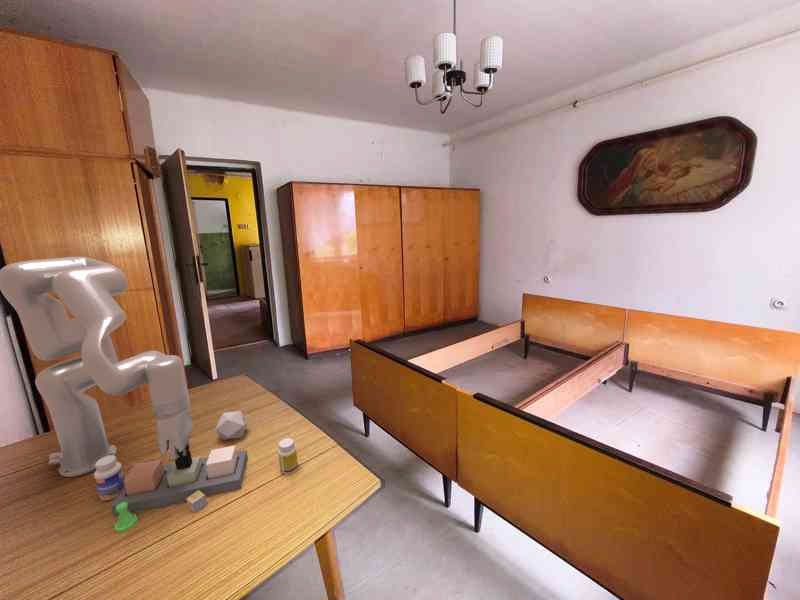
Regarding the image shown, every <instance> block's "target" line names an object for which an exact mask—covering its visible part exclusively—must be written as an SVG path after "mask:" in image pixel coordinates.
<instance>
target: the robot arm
mask: <svg viewBox="0 0 800 600" xmlns="http://www.w3.org/2000/svg"><path fill="white" fill-rule="evenodd" d="M128 286H129V280H128V278H127V276H126V274H125V273H124V272H123V271H122V270H121V269H120V268H119V267H117V266H115V265H114V264H111V263H108V262H105V261H101V260H97V259H94V258H91V257H87V256H66V257H55V258H42V259H41V258H39V259H29V260H23V261H16V262H13V263H10V264H6V265H5V266H3V267H2V268H1V269H0V292H1V293H2V295H3V297H4V298H5V299H6V300H7V302H8V303H9V304H10V305H11V306H12V307H13V309H14V310H15V311H16V313H17V315H18V317H19V320H20V323H21V325H22V327H23V330H24V333H25V336H26V338H27V341H28V343H29V347H30V348H31V351H32V353H33V354H34V356H35V357H36V358H37V359H39V360H42V361H53V360H57V359H58V360H59V359H61V358H65V357H68V356H71V355H74V354H78V353H81V355H79V356H77V357H76V356H75V357H73V358H70V359H67V360H64V361H61V362H58V363H55V364H52V365H49V366H48V367H46V368H44V369H43V370H41V371H40V372H39V373H38V374H37V375H36V376H35V377H36V378H35V380H34V383H35V386H36V389H37V391H38V393H39V394H40V396H41V397H42V399H43V400H44V403H45V404H46V406H47V409H48V411H49V414H50V416H51V420H52V423H53V427H54V430H55V434H56V437H57V440H58V443H59V444H58V445H59V447H60V450H61V452H60V451H59V452H54V453H51V454H49V456H48V465H57V464H60V466H59V468H58V474H59V475H60V476H61V477H66V478H73V477H78V476H79V477H80V476H82V475H86V474H89V473H91V472H93V471H94V472H95V471H96V470H97V469H96V466H95V464H96V462H97V461H98V460H100V459H102V458H104V457H106V456H111V455H114V456H116V457H117V454H118V449H117V447H116V445H113V444H109V442H108V439H107V434H106V430H105V425H104V422H103V419H102V414H101V411H100V408H99V403H98V401H97V400H96V399H95V398H93V397H92V396H90V395H87V394H86V393H84V392H85V391H87V390H88V389H90V388H92V387H95V386H97V387H98V388H99V389H100V390H101V391H103V393H106V394H107V395H109V396H114V397H119V396H122V395H125V394H127V393H130V392H132V391H134V390H136V389H138V388H139V387H142V386H145V385H146V384H147V385H148V389H149V395H150V400H151V404H152V408H153V414H154V416H155V417H156V434H157V442H158V448H159V449H158V450H159V453H160V455H161V456H164V455H166V454H167V452H168V450H169V460H170V461H174V463H175V464H176V469H177V470H180V469H185V468H190V466H191V464H192V458H193V457H192V453H191V450H190V447H191V446H190V440H191V437H192V435H193V433H194V423H193V419H192V413H191V410H190V407H191V401H190V394H189V389H188V385H187V378H186V374H185V369H184V364H183V359H182V358H181V357H180V356H178V355H174V354H166V353H163V352H160V351H159V350H148V351H144V352H142V353H139V354H136V355H133V356H131V357H128V358H126V359H123V360H121V361H119V359H118V357H117V353H116V350H115V348H114V345H113V344H114V343H113V340H112V338H111V333H112V332H114V331H115V330H117V329H118V328H119V327H120V326H121V325H123V324H124V322H125V321H126V319H127V315H126V313H125V312H124V310H123V309H122V308H121V306H120V305H119V304H118V303H117V301H116V300H115V299H114V297H115V296H119V295H122V294H124V293H125V292H126V291H127V290H128V289H129V287H128ZM52 292H54V293H55V295H56V296H57V297H58V299H60V300H58V299H57V298H56V297H54V296H53V295H51V294H49V293H52ZM66 308H67V309H66ZM67 310H68V311H69V313H70V314H71V315H72V316H73V317H74V318H72V319H71V318H70V317H69V316H68V313H67Z"/></svg>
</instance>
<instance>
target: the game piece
mask: <svg viewBox="0 0 800 600" xmlns="http://www.w3.org/2000/svg"><path fill="white" fill-rule="evenodd" d="M127 507H128V503H126V502H122V503H120V504H118V505H117V507H116V511H117V512H119V513H120V514H119V516H118V519H117V522H116V523H115V524H114V530H115V533H125V532H126V531H128V530H131V529H132V528H133V527H134V526H136V524H137V523H138V522H139V520H138V517H137V514H136V513H135V514H134V513H130V512H129V511H128V510H126V509H127Z"/></svg>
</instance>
